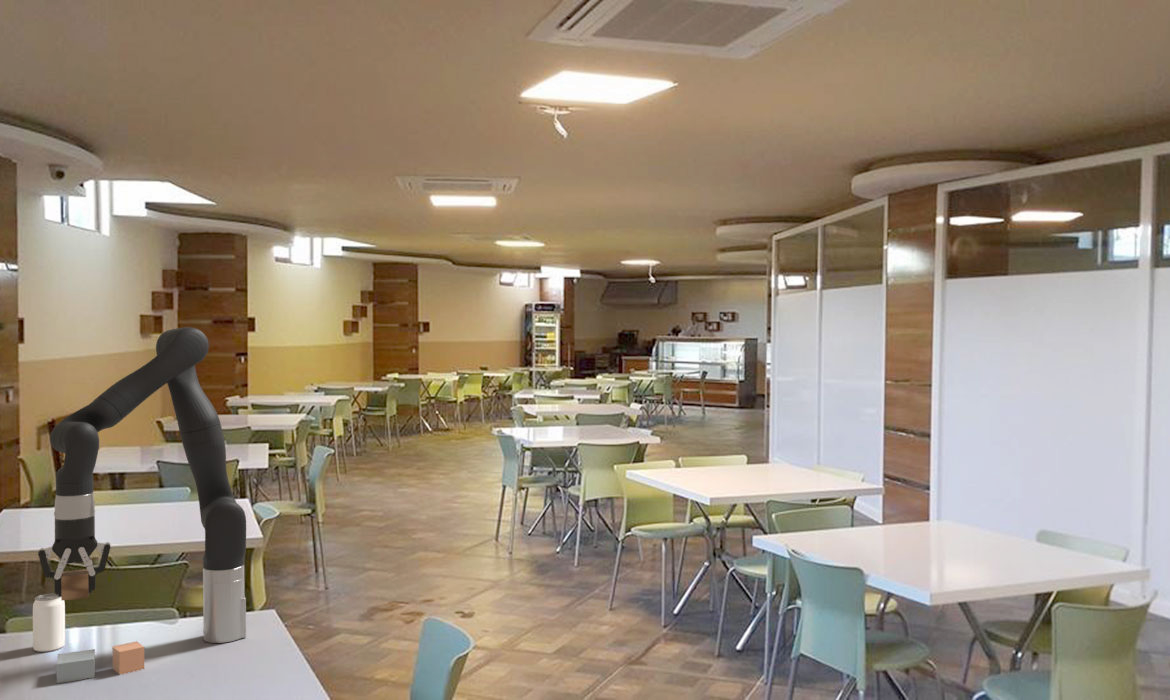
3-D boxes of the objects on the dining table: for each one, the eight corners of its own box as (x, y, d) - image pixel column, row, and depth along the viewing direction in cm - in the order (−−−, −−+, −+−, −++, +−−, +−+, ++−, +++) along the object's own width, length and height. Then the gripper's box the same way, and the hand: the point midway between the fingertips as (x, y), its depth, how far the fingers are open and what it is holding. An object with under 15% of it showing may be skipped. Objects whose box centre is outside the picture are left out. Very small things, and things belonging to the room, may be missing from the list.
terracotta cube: (137, 663, 206) (136, 641, 206) (144, 669, 202) (144, 646, 202) (112, 669, 203) (112, 646, 203) (119, 675, 199) (119, 652, 199)
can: (50, 653, 213) (50, 601, 213) (26, 651, 214) (25, 599, 214) (71, 644, 219) (71, 593, 219) (47, 642, 220) (47, 592, 220)
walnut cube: (88, 591, 202) (88, 569, 202) (88, 597, 198) (88, 574, 198) (62, 594, 200) (62, 571, 200) (61, 600, 195) (61, 576, 195)
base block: (94, 667, 204) (94, 649, 204) (94, 677, 197) (94, 658, 197) (58, 672, 200) (58, 654, 200) (56, 683, 194) (56, 664, 194)
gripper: (112, 509, 205) (112, 586, 205) (37, 514, 199) (37, 594, 199) (112, 514, 199) (112, 594, 199) (34, 520, 192) (35, 603, 192)
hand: (75, 593), depth 199 cm, fingers closed on walnut cube, 5 cm apart
